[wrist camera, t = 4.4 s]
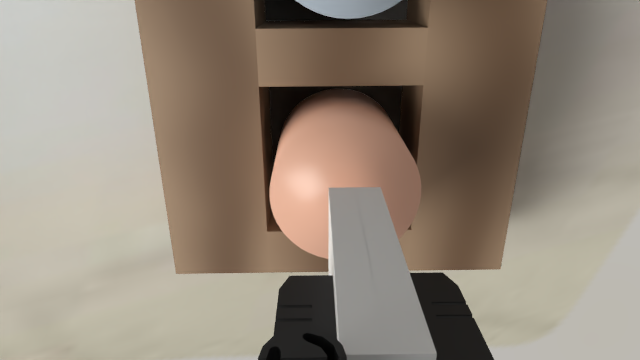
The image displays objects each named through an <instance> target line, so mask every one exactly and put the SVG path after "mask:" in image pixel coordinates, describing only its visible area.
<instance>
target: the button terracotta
mask: <svg viewBox="0 0 640 360" xmlns="http://www.w3.org/2000/svg"><path fill="white" fill-rule="evenodd" d="M343 187H381V190H382V193H383V196H384V199H385V202H386V205H387V207H388V210H389V213H390V216H391V219H392V222H393V225H394V228H395V231H396V234H397V237H398V239H399V238H400V237H401V236H402V235H403V234H404V233H405V232H406V231H407V229H408V228H409V227H410V225H411V223H412V222H413V220H414V218H415V216H416V214H417V211H418V208H419V205H420V200H421V178H420V174H419V170H418V167H417V165H416V163H415V160H414V159H413V157H412V155H411V153H410V152H409V150H408V148H407V147H406V145H405V143H404V141H403V140H402V138H401V136H400V135H399V133H398V131H397V129H396V128H395V126H394V124H393V123H392V121H391V119H390V118H389V116H388V114H387V113H386V111H385V110H384V109H383V108H382V107H381V105H379V104H378V103H377V102H376V101H375V100H373V99H372V98H370V97H369V96H367V95H365V94H363V93H361V92H358V91H355V90H350V89H340V88H337V89H328V90H323V91H320V92H317V93H314V94H312V95H310V96H308V97H307V98H305V99H304V100H302V101H301V102H300V103H299V104H298V105H296V106H295V107H294V109H293V110H292V111H291V112H290V114H289V115H288V117H287V118H286V120H285V122H284V124H283V127H282V130H281V134H280V139H279V143H278V148H277V153H276V158H275V162H274V167H273V172H272V177H271V182H270V195H269V197H270V205H271V209H272V212H273V215H274V218H275V220H276V222H277V224H278V226H279V227H280V229H281V230H282V232H283V233H284V234H285V235H286V236H287V237H288V238H289V239H290V240H291V241H292V242H293V243H294V244H295V245H297V246H298V247H300V248H301V249H303V250H305V251H306V252H308V253H311V254H313V255H316V256H318V257H322V258H326V259H328V241H329V188H343Z"/></svg>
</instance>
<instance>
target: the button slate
mask: <svg viewBox="0 0 640 360" xmlns="http://www.w3.org/2000/svg"><path fill="white" fill-rule="evenodd" d="M296 1H297V2H298V3H300V4H301V5H303V6H304V7H306V8H308V9H310V10H312V11H314V12H316V13H319V14H322V15H325V16H329V17H334V18H342V19H354V18H363V17H367V16H372V15H375V14H377V13H380V12H383V11H385V10H387V9H389V8H391V7H392V6H394V5H396V4H397V3H398V2H400V1H401V0H296Z"/></svg>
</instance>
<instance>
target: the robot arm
mask: <svg viewBox="0 0 640 360" xmlns="http://www.w3.org/2000/svg"><path fill="white" fill-rule="evenodd" d="M328 269H329V275H323V276H289V277H288V279H287V280H286V281H285V283H284V284H283V285H282V286H281V288H280V289H279V295H278V303H277V312H276V322H275V329H274V336H273V337H272V338H271V339H270V340H269V341H268V342H267V343H266V344H265V345H264V346H263V348H262V350H261V352H260V355H259V357H258V360H494V359H493V357H492V354H491V352H490V350H489V348H488V346H487V344H486V342H485V340H484V338H483V336H482V334H481V332H480V330H479V328H478V326H477V324H476V322H475V320H474V318H472V313H471V311H470V309H469V307H468V305H466V301H465V299H464V297H463V295H462V293H461V291H460V289H459V287H458V285H456V284H455V283H454V282H453V281H452V280H451V279H449V278H448V277H447V276H446V275H445V274H444V273H409V270H408V267H407V264H406V261H405V258H404V255H403V252H402V249H401V246H400V243H399V240H398V237H397V234H396V231H395V228H394V225H393V222H392V219H391V216H390V213H389V210H388V207H387V205H386V202H385V199H384V196H383V193H382V190H381V187H343V188H329V241H328Z"/></svg>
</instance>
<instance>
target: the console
mask: <svg viewBox="0 0 640 360" xmlns="http://www.w3.org/2000/svg"><path fill="white" fill-rule="evenodd" d="M546 5H547V0H408V4H407V20H296V21H266V10H265V0H135V6H136V12H137V19H138V25H139V32H140V39H141V45H142V52H143V58H144V65H145V72H146V78H147V85H148V91H149V98H150V104H151V111H152V118H153V124H154V131H155V137H156V144H157V151H158V157H159V164H160V170H161V177H162V184H163V190H164V197H165V203H166V210H167V216H168V223H169V230H170V236H171V243H172V249H173V256H174V263H175V269H176V274H191V273H263V272H329V269H328V259H326V258H322V257H318V256H316V255H313V254H311V253H308V252H306V251H305V250H303V249H301V248H300V247H298V246H297V245H295V244H294V243H293V242H292V241H291V240H290V239H289V238H288V237H287V236H286V235H285V234H284V233H283V232H282V230H281V229H280V227H279V226H278V224H277V222H276V220H275V218H274V215H273V212H272V209H271V205H270V197H269V195H270V182H271V177H272V172H273V154H272V134H271V113H270V92H269V87H287V86H401V85H402V97H401V113H400V128H399V135H400V136H401V138H402V140H403V141H404V143H405V145H406V147H407V148H408V150H409V152H410V153H411V155H412V157H413V159H414V160H415V163H416V165H417V167H418V170H419V174H420V178H421V200H420V205H419V208H418V211H417V214H416V216H415V218H414V220H413V222H412V223H411V225H410V227H409V228H408V229H407V231H406V232H405V233H404V234H403V235H402V236H401V237H400V238H399V239H398V240H399V243H400V246H401V249H402V252H403V255H404V258H405V261H406V264H407V267H408V270H479V269H500V268H501V262H502V257H503V251H504V245H505V239H506V234H507V228H508V222H509V217H510V211H511V205H512V199H513V194H514V188H515V182H516V177H517V171H518V165H519V159H520V154H521V148H522V142H523V137H524V131H525V125H526V119H527V114H528V108H529V102H530V96H531V91H532V85H533V79H534V74H535V68H536V62H537V56H538V51H539V45H540V39H541V34H542V28H543V22H544V16H545V11H546Z"/></svg>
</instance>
